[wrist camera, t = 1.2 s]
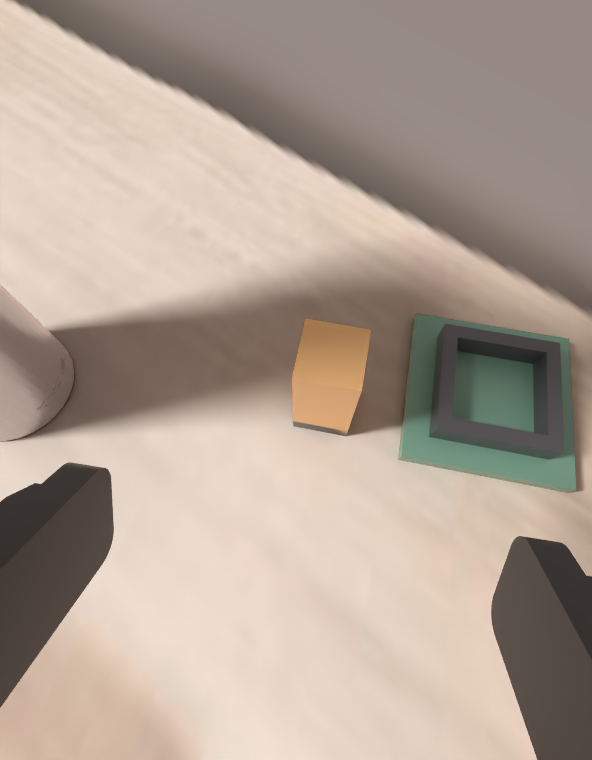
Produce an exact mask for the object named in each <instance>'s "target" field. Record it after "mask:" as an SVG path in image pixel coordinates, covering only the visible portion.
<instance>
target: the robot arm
mask: <svg viewBox="0 0 592 760" xmlns="http://www.w3.org/2000/svg"><path fill="white" fill-rule="evenodd" d="M73 382H74V366H73V361H72V359H71V356H70V354H69V352H68V351H67V350H66V348H65V347H64V346H63V345H62V344H61V343H60V342H59V341H58V340H57V339H56V338H55V337H54V336H53V335H52V334H51V333H50V332H49V331H48V330H47V329H46V328H45V327H44V326H43V325H42V324H41V323H40V322H39V321H38V320H37V319H36V318H35V317H34V316H33V315H32V314H31V313H30V312H29V311H28V310H27V309H26V308H25V307H24V306H23V305H21V304H20V303H19V302H18V301H17V300H16V299H15V298H14V297H13V296H12V295H11V294H10V293H9V292H8V291H7V290H6V289H5V288H4V287H3V286H2V285H1V284H0V441H8V440H13V439H18V438H21V437H23V436H26V435H28V434H31V433H33V432H35V431H36V430H38V429H40V428H41V427H43V426H44V425H46V424H47V423H48V422H49V421H50V420H51V419H53V418H54V417H55V416H56V414H57V413H58V412H59V411H60V410H61V408H62V407H63V406H64V404H65V402H66V401H67V399H68V397H69V395H70V392H71V389H72V386H73ZM113 532H114V526H113V507H112V488H111V475H110V472H109V471H108V469H106V468H101V467H95V466H89V465H83V464H76V463H66V464H64V465H63V466H62V467H60V468H59V469H58V470H57V471H56V472H55V473H54V474H52V475H51V476H50V477H49V478H48V479H47V480H46V481H44V482H43V483H42V484H37V483H35V484H33V485H31V486H28V487H26V488H24V489H22V490H20V491H18V492H16V493H14V494H12V495H10V496H8V497H6V498H5V499H3V500H2V501H1V502H0V707H1V706H2V705H3V703H4V702H5V700H6V699H7V698H8V696H9V695H10V693H11V692H12V690H13V689H14V688H15V686H16V685H17V683H18V682H19V681H20V679H21V678H22V676H23V675H24V674H25V672H26V671H27V669H28V668H29V667H30V665H31V664H32V662H33V661H34V660H35V658H36V657H37V655H38V654H39V652H40V651H41V650H42V648H43V647H44V645H45V644H46V643H47V641H48V640H49V638H50V637H51V636H52V634H53V633H54V631H55V630H56V629H57V627H58V626H59V624H60V623H61V622H62V620H63V619H64V617H65V616H66V614H67V613H68V612H69V610H70V609H71V607H72V606H73V605H74V603H75V602H76V600H77V599H78V598H79V596H80V595H81V593H82V592H83V591H84V589H85V588H86V586H87V585H88V584H89V582H90V581H91V579H92V578H93V576H94V575H95V574H96V572H97V571H98V569H99V568H100V567H101V565H102V564H103V562H104V561H105V559H106V557H107V555H108V553H109V550H110V547H111V544H112V540H113ZM491 615H492V625H493V630H494V634H495V637H496V640H497V643H498V646H499V648H500V651H501V654H502V657H503V660H504V663H505V666H506V669H507V672H508V675H509V678H510V681H511V684H512V687H513V689H514V692H515V695H516V698H517V701H518V704H519V707H520V710H521V713H522V716H523V719H524V722H525V725H526V728H527V730H528V733H529V736H530V739H531V742H532V745H533V748H534V751H535V754H536V757H537V760H592V577H591V576H586V575H585V573H584V572H583V570H582V569H581V567H580V566H579V564H578V563H577V561H576V559H575V558H574V556H573V555H572V553H571V552H570V550H569V549H568V548H567V546H566V545H564V544H563V543H559V542H553V541H547V540H541V539H535V538H529V537H522V536H519V537H517V538H515V540H514V541H513V543H512V545H511V548H510V550H509V553H508V556H507V559H506V562H505V565H504V567H503V570H502V573H501V576H500V579H499V581H498V584H497V587H496V590H495V593H494V596H493V600H492V609H491Z"/></svg>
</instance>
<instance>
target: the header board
mask: <svg viewBox="0 0 592 760" xmlns="http://www.w3.org/2000/svg"><path fill="white" fill-rule="evenodd" d="M398 460H403V461H408V462H413V463H419V464H424V465H429V466H434V467H439V468H444V469H449V470H454V471H460V472H465V473H470V474H475V475H480V476H485V477H490V478H495V479H501V480H506V481H511V482H516V483H521V484H526V485H531V486H536V487H542V488H547V489H552V490H557V491H562V492H567V493H569V492H572V491H576V473H575V452H574V431H573V410H572V389H571V368H570V348H569V339H566V338H560V337H554V336H548V335H542V334H536V333H530V332H524V331H518V330H512V329H506V328H500V327H494V326H488V325H482V324H476V323H470V322H464V321H458V320H452V319H446V318H440V317H434V316H428V315H422V314H416V317H415V319H414V324H413V333H412V342H411V351H410V360H409V369H408V378H407V387H406V396H405V405H404V414H403V422H402V431H401V440H400V449H399V458H398Z"/></svg>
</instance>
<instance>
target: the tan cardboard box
mask: <svg viewBox="0 0 592 760" xmlns="http://www.w3.org/2000/svg"><path fill="white" fill-rule="evenodd" d="M370 335H371V329H365V328H359V327H354V326H348V325H342V324H336V323H330V322H324V321H319V320H313V319H307V318H305V322H304V326H303V330H302V335H301V339H300V344H299V348H298V353H297V357H296V362H295V366H294V370H293V375H292V397H293V426H296V427H301V428H306V429H311V430H317V431H322V432H327V433H332V434H337V435H343V436H346V435H347V432H348V429H349V426H350V423H351V421H352V418H353V415H354V412H355V409H356V406H357V403H358V400H359V398H360V395H361V392H362V387H363V380H364V374H365V367H366V361H367V354H368V348H369V341H370Z"/></svg>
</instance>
